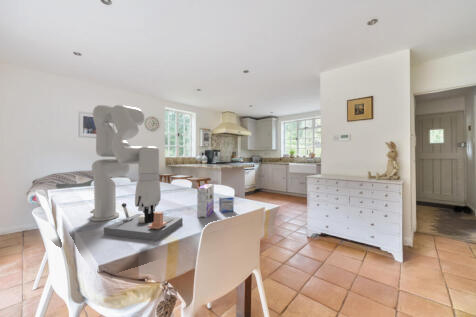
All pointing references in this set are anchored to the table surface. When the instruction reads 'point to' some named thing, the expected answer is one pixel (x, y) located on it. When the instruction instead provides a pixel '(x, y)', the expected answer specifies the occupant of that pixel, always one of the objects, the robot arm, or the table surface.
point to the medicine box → (226, 204)
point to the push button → (141, 219)
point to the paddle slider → (157, 221)
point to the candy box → (205, 200)
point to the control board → (142, 228)
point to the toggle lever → (125, 210)
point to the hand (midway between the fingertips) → (149, 222)
